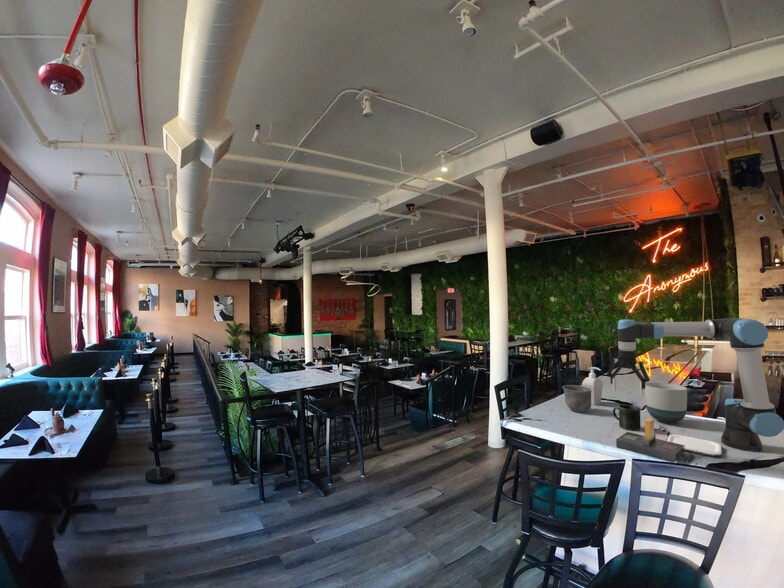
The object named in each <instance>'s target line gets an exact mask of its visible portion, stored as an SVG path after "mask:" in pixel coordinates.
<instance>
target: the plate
mask: <svg viewBox="0 0 784 588" xmlns="http://www.w3.org/2000/svg"><path fill="white" fill-rule="evenodd" d="M666 441H668V442H673V443H677V444H681V445H685V452H687V453H691V454H696V455H701V456H707V457H718V456H719V457H720V456H722V449H723V448H722V445H721V444H720V443H718V442H716V441H712V440H708V439H701V438H697V437H691V436H686V435H680V434H669V435H668V438H667V440H666Z"/></svg>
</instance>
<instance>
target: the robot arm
mask: <svg viewBox="0 0 784 588" xmlns="http://www.w3.org/2000/svg"><path fill="white" fill-rule="evenodd" d="M617 335H618V337H617V339H618V341H617V344H618V345H617V346H618V355H617V357H618V358H611V363H610V365H609V368H608V371H606V372H607V373H606V376H607V377H609V378H610V384H611V385H612V391H613V392H616V391H617V377H616V376H617V374H619V372H620V371H621V370H622V369H627V370H628V369H629V370H630V369H631V371H633V372H634V374H635V375H636V376H637V378H638V380H640V381H639V396H641V397H642V396H644V390H645V383H649V382H650V380H651V379H650V377H649V374H648V373H647V370H646V368H645V365H644V361H642V360H641V361H640V360H637V351H636V349H637V348H636V347H637V346H636V343H637V341H636V340H637V339H645V340H648V339H650V340H651V339H653V340H659V339H660V340H661V339H663V338H664V337H706V338H707V339H718V340H724V341H729V345H730V349H733V350H734V351H735V355H736V356H735V357H736V361H737V362H736V363H737V367H738V372H739V379H740V385H741V391H742V396H743V399H742V398H726V399H725V400H724V415H725V416H724V419H725V421H724V422H725V428H724V430H723V433H722V435H721V438H720V439H721V443H722V444H723V445H725V446H728V447H731V448H734V449H737V448H738V450H741V449H742V450H743V451H747V450H753V451H752V452H761V451H760V450H762V449H763V450H764V447H763V446H764V445H763V442H762V440H761V438H760V437H765V438H772V437H776V436H778V435H779V434H780V433H782V432H783V430H784V420H783V418H782V417H781V416H780V415H779V414H777V410H776V407H775V405H774V404H773V403H771V402H770V397H769V392H768V386H767V381H766V374H765V368H764V363H763V356H762V352H761V350H763V349H764V348H765V342H766V340H767V339H768V338H769V331H768V328H767V327H766V326H765V324H764V323H763V322H761V321H758V320H756V319H752V318H748V317H747V318H746V317H745V318H744V317H742V318H739V317H726V318H725V317H724V318H717V319H706V320H705V321H656V322H655V321H654V322H653V321H651V322H650V321H649V322H648V321H647V322H643V321H642V322H641V321H636V320H634V319H619V320H618V321H617ZM617 363H618V364H619V365H618V366H617V368H616V369H615V366H616V364H617ZM636 365H637V366H639V369H640V371H641V372H640V371H639V369H638V367H637V366H636ZM614 369H615V370H614ZM641 373H642V374H641ZM742 450H741V451H742ZM763 450H762V451H763Z"/></svg>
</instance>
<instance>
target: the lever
mask: <svg viewBox="0 0 784 588" xmlns="http://www.w3.org/2000/svg"><path fill="white" fill-rule="evenodd" d="M654 420H655V418H653V417H652V418H651V417H647V418H646V419H644V436H645V438H646V439H649V441H650V442H651V441H652V440H653V439H654V434H655V422H654Z"/></svg>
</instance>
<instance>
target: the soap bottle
mask: <svg viewBox="0 0 784 588" xmlns="http://www.w3.org/2000/svg"><path fill="white" fill-rule="evenodd" d="M587 369H589V370H590V373H588V377H585V378H584V379H583V380H582V383H581V386H584V387H587V388H590V389H592V391H591V406H598V405H601V403H602V394H603V385H604V382H603V381H602V380H601V379H600V378H599V377H596V375H597V374H596V373H595V372H594V371H595V370H598V371H602V369H600V368H599V367H596V366H595V367H594V366H591V367H587Z"/></svg>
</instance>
